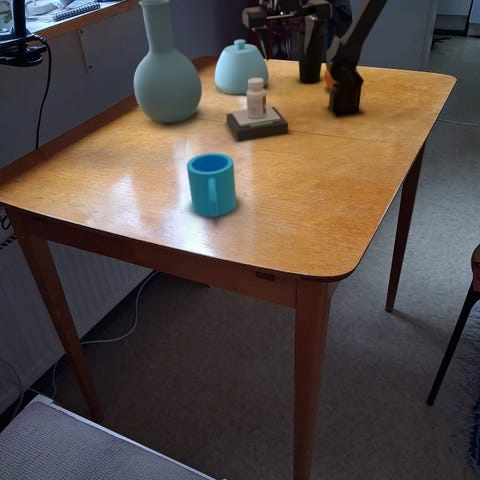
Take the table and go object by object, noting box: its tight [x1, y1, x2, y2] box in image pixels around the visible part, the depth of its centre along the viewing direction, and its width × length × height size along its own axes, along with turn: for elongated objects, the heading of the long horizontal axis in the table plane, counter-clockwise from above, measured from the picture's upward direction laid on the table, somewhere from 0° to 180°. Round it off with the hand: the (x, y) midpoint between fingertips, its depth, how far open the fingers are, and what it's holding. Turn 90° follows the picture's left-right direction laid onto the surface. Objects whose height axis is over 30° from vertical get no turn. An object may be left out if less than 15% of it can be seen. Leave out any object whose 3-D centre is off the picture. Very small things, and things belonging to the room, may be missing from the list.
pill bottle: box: [246, 78, 267, 119], centre depth 109 cm, size 4×4×8 cm
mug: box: [186, 152, 237, 218], centre depth 85 cm, size 12×8×8 cm
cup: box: [296, 28, 327, 85], centre depth 132 cm, size 8×8×12 cm
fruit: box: [324, 67, 359, 90], centre depth 127 cm, size 8×8×8 cm
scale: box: [225, 105, 289, 142], centre depth 113 cm, size 12×11×3 cm
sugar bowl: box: [214, 39, 270, 95], centre depth 132 cm, size 15×15×12 cm
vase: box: [133, 0, 203, 124], centre depth 114 cm, size 16×16×25 cm
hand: (286, 57), depth 110 cm, fingers open, 9 cm apart
